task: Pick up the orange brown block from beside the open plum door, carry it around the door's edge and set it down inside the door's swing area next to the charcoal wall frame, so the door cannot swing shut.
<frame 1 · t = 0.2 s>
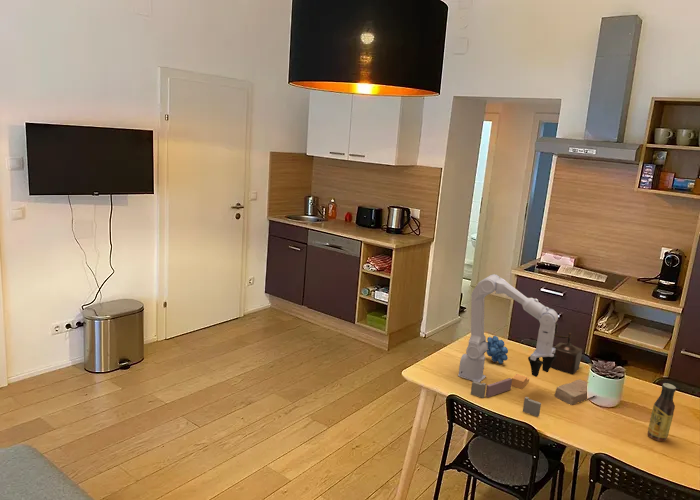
hand: (539, 373, 212), 10 cm above the table, tool pointing down, fingers open, 7 cm apart
orange brown block: (519, 384, 225), on the table
manual coffee grinder: (558, 366, 245), on the table
door: (498, 386, 214), point 3 cm above the table, hinge at 70.0°
grapes: (493, 363, 244), on the table
wall frame: (503, 404, 206), on the table
brick: (575, 397, 216), on the table
sauce bottle: (657, 438, 190), on the table
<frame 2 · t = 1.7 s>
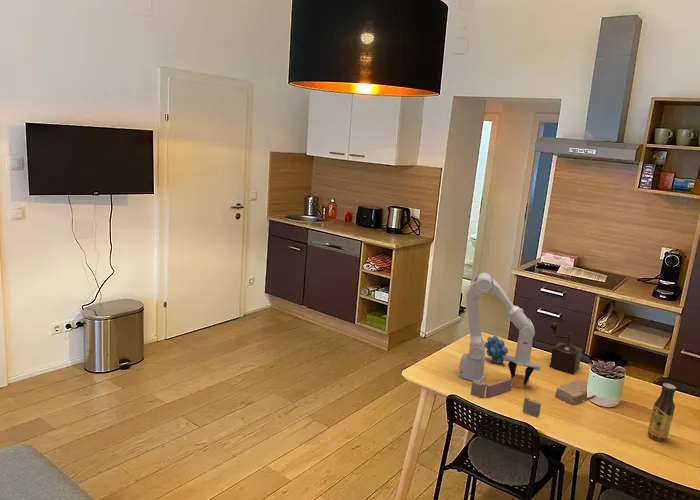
hand: (519, 381, 223), 1 cm above the table, tool pointing down, fingers closed on orange brown block, 4 cm apart
orange brown block: (520, 383, 225), on the table, touching gripper
everything else where it was.
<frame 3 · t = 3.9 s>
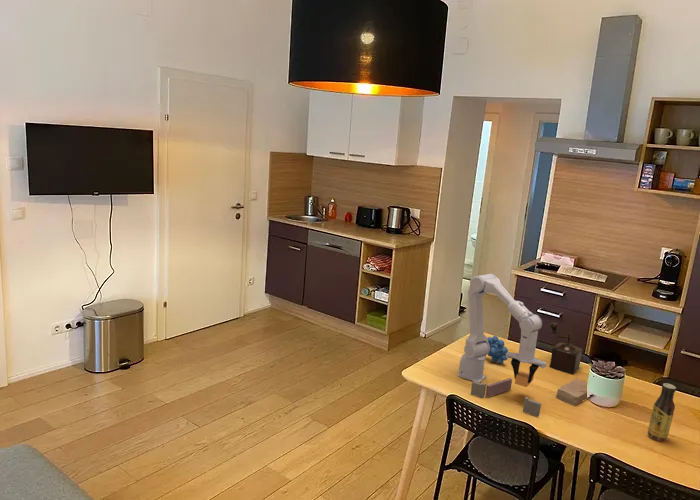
hand: (522, 380, 208), 8 cm above the table, tool pointing down, fingers closed on orange brown block, 4 cm apart
orange brown block: (524, 381, 210), point 7 cm above the table, touching gripper
everything else where it was.
when the fingers open (2 cm above the table, at t = 5.7 s): orange brown block drops 1 cm, on the table.
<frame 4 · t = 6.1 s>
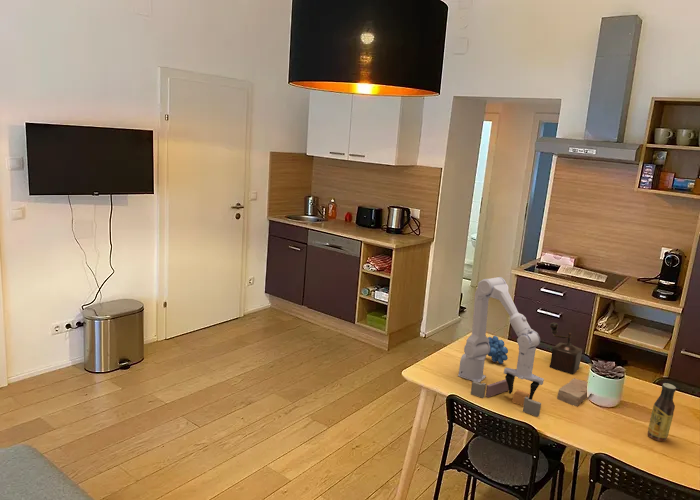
hand: (520, 396, 208), 2 cm above the table, tool pointing down, fingers open, 7 cm apart
orange brown block: (521, 400, 211), on the table
everything else where it was.
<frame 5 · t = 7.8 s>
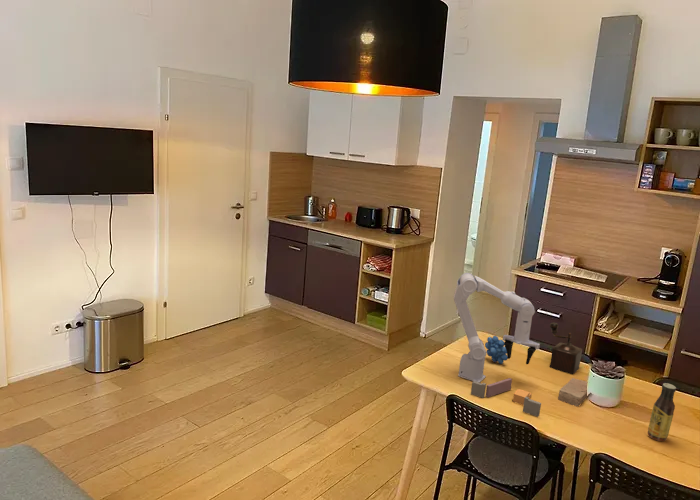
hand: (518, 360, 224), 9 cm above the table, tool pointing down, fingers open, 7 cm apart
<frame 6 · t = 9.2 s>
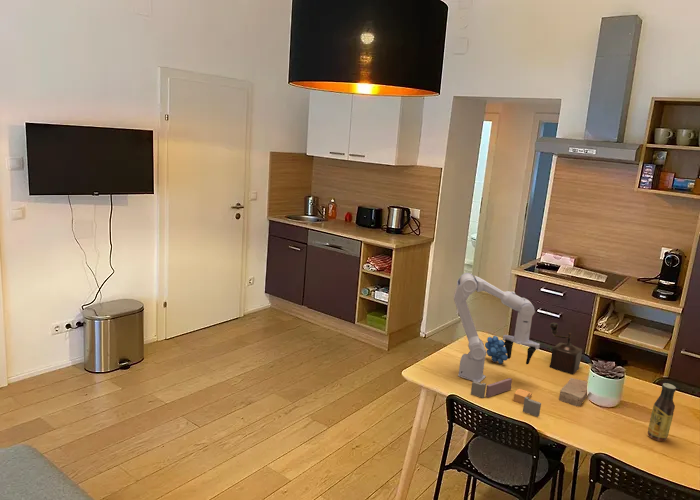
hand: (518, 360, 224), 9 cm above the table, tool pointing down, fingers open, 7 cm apart
at the end: orange brown block 1.7 cm from the target spot on the table beside the door, on the table; door at +70° (first picture: +70°); the gripper is holding nothing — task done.
